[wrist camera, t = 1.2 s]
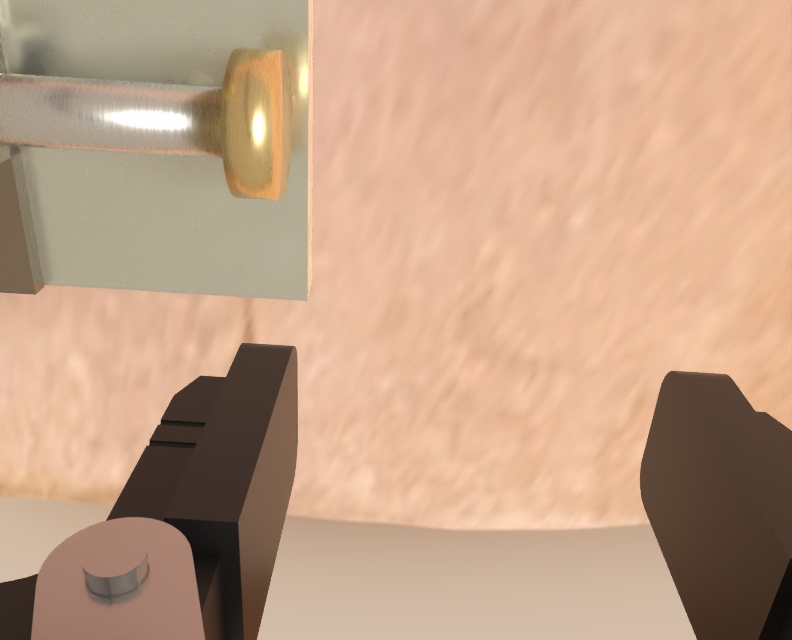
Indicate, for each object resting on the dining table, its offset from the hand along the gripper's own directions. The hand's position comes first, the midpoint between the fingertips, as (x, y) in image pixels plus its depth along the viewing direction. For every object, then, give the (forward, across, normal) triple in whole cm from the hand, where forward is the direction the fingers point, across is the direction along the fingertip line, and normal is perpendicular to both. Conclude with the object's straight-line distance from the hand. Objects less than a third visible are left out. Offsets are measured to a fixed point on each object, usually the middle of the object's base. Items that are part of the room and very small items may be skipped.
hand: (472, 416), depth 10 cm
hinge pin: (+19, +13, 0) cm, 24 cm away
